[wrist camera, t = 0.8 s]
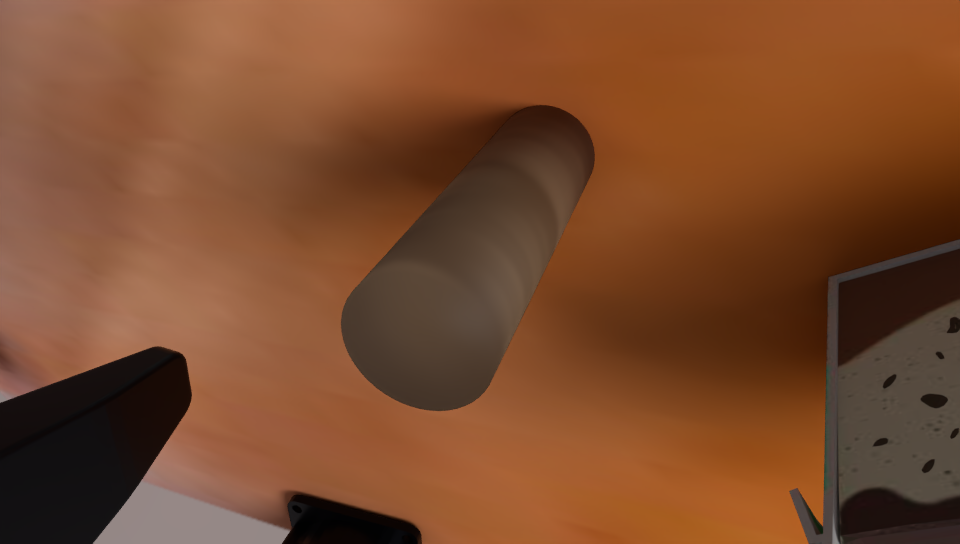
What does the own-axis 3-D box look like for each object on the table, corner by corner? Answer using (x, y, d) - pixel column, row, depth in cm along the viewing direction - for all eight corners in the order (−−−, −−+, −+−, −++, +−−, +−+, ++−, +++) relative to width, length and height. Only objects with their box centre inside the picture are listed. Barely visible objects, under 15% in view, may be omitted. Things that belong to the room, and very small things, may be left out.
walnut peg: (495, 195, 22) (349, 393, 14) (496, 101, 21) (333, 261, 12) (590, 207, 21) (495, 425, 13) (598, 110, 20) (496, 287, 12)
